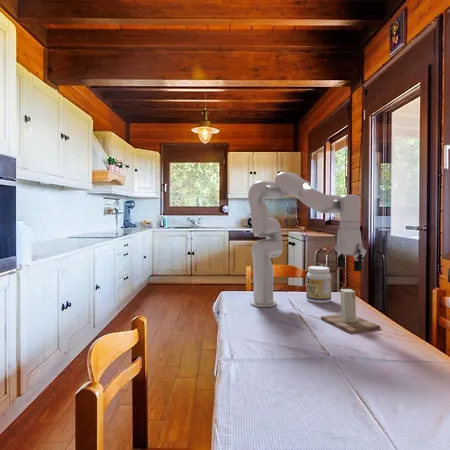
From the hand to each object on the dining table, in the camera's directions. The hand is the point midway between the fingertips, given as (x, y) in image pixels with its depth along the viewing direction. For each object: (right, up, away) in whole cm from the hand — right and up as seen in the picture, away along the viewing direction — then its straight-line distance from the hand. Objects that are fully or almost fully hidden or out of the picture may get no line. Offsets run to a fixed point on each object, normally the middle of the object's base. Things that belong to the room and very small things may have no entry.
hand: (349, 269), depth 133 cm
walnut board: (0, -22, +1) cm, 22 cm away
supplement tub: (-2, -21, +37) cm, 43 cm away
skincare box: (0, -21, +1) cm, 21 cm away
